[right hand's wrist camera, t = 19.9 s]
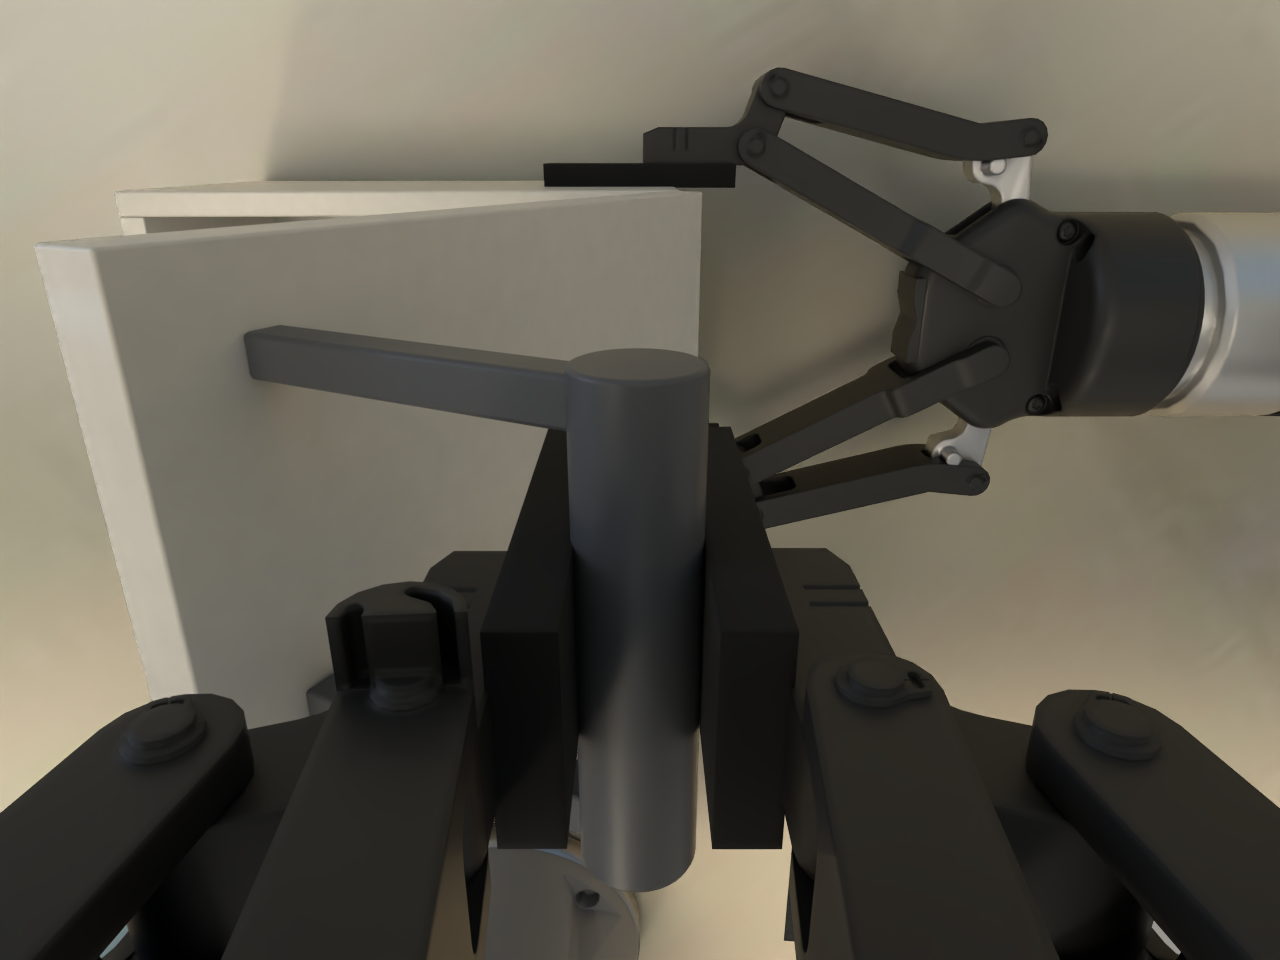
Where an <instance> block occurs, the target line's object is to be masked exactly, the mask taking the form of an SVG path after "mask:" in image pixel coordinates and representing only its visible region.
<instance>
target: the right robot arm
mask: <svg viewBox="0 0 1280 960" xmlns="http://www.w3.org/2000/svg"><path fill="white" fill-rule="evenodd" d="M325 621H326V627H327V634H328V640H329V646H330V653H331V659H332V665H333V671H334V678H335V684H336V690H337V692H336V694H335V696H334V699H333V701H332V703H331V706H330V708H329V710H327V711H324V712H322V713H319V714H316V715H312V716H308V717H305V718H301V719H297V720H292V721H288V722H283V723H278V724H273V725H268V726H263V727H258V728H253V729H247V724H246V719H245V714H244V710H243V709H242V708H241V707H240V706H239V705H238V704H237V703H236V702H235V701H234V700H233V699H230V698H226V697H223V696H219V695H215V694H212V693H210V694H183V695H176V696H171V697H169V698H167V697H165V698H162V699H158V700H154V701H152V702H150V703H148V704H146V705H143V706H141V707H138V708H136V709H134V710H131V711H129V712H126V713H124V714H123V715H121V716H120V717H118V718H117V719H115V720H114V721H112V722H111V723H109V724H108V725H106V726H105V727H103V728H102V729H100V730H99V731H98V732H96V733H95V734H94V735H93V736H92V737H90V738H89V739H88V740H87V741H86V742H84V743H83V744H82V745H81V746H80V747H78V748H77V749H76V750H75V751H74V752H73V753H71V754H70V755H69V756H68V757H67V758H65V759H64V760H63V761H62V762H61V763H59V764H58V765H57V766H56V767H55V768H53V769H52V770H51V771H50V772H49V773H48V774H46V775H45V776H44V777H43V778H42V779H40V780H39V781H38V782H37V783H36V784H34V785H33V786H32V787H31V788H30V789H29V790H27V791H26V792H25V793H24V794H23V795H21V796H20V797H19V798H18V799H17V800H15V801H14V802H13V803H12V804H11V805H9V806H8V807H7V808H6V809H5V810H4V811H2V812H1V813H0V960H484V953H485V943H486V933H487V924H488V914H489V905H490V895H491V877H490V865H489V853H488V845H489V841H490V836H491V831H492V827H493V822H494V818H495V826H496V838H497V849H567V844H568V835H569V825H570V815H571V806H572V796H573V787H574V777H575V768H576V758H577V748H578V739H579V718H578V687H577V657H576V627H575V596H574V566H573V545H572V543H571V541H570V516H569V487H568V459H567V432H565V431H559V430H553V429H548V431H547V434H546V437H545V440H544V443H543V446H542V448H541V451H540V454H539V457H538V460H537V463H536V466H535V469H534V472H533V475H532V478H531V481H530V484H529V487H528V490H527V493H526V496H525V499H524V502H523V505H522V508H521V511H520V514H519V517H518V520H517V523H516V526H515V529H514V532H513V535H512V538H511V541H510V544H509V547H508V550H507V551H453V552H452V553H450V554H449V555H447V556H446V557H445V558H443V559H442V560H441V561H439V562H438V563H437V564H435V565H434V566H432V567H431V568H430V569H429V571H428V573H427V575H426V577H425V579H424V581H423V582H414V581H407V582H399V583H391V584H383V585H380V586H377V587H373V588H370V589H367V590H364V591H360V592H357V593H356V594H354V595H352V596H350V597H349V598H347V599H345V600H343V601H341V602H340V603H338V604H337V605H336V606H335V607H334V608H333V609H332V610H331V611H330V612H329V614H328V615H327V616H326V617H325ZM699 726H700V735H701V745H702V755H703V764H704V774H705V783H706V793H707V803H708V812H709V822H710V832H711V841H712V849H782V842H783V829H784V817H786V821H787V826H788V830H789V835H790V840H791V844H792V853H791V865H790V877H789V888H788V900H787V911H786V923H785V934H784V941H794V942H795V951H796V960H1280V808H1279V807H1278V806H1276V805H1275V804H1274V803H1273V802H1272V801H1270V800H1269V799H1268V798H1267V797H1266V796H1264V795H1263V794H1262V793H1261V792H1260V791H1258V790H1257V789H1256V788H1255V787H1254V786H1252V785H1251V784H1250V783H1249V782H1248V781H1246V780H1245V779H1244V778H1243V777H1242V776H1240V775H1239V774H1238V773H1237V772H1236V771H1234V770H1233V769H1232V768H1231V767H1230V766H1228V765H1227V764H1226V763H1225V762H1224V761H1222V760H1221V759H1220V758H1219V757H1218V756H1216V755H1215V754H1214V753H1213V752H1212V751H1210V750H1209V749H1208V748H1207V747H1206V746H1204V745H1203V744H1202V743H1201V742H1200V741H1198V740H1197V739H1196V738H1195V737H1194V736H1192V735H1191V734H1190V733H1189V732H1188V731H1186V730H1185V729H1184V728H1183V727H1182V726H1180V725H1179V724H1177V723H1176V722H1174V721H1173V720H1171V719H1170V718H1168V717H1167V716H1165V715H1163V714H1162V713H1160V712H1159V711H1157V710H1156V709H1154V708H1151V707H1149V706H1146V705H1144V704H1142V703H1139V702H1137V701H1134V700H1132V699H1131V698H1128V697H1126V696H1122V695H1118V694H1115V693H1113V694H1110V693H1109V692H1104V691H1097V690H1065V691H1062V692H1058V693H1054V694H1050V695H1048V696H1047V697H1045V698H1044V699H1043V700H1042V701H1041V702H1040V703H1039V704H1038V705H1037V706H1036V710H1035V715H1034V720H1033V725H1032V726H1030V725H1025V724H1020V723H1015V722H1010V721H1005V720H1000V719H995V718H990V717H985V716H981V715H977V714H973V713H970V712H966V711H962V710H959V709H957V708H955V707H952V706H950V704H949V702H948V700H947V697H946V695H945V693H944V690H943V689H942V688H941V686H940V685H939V684H938V683H937V681H936V680H935V679H934V677H933V676H932V675H931V674H929V673H928V672H926V671H925V670H923V669H922V668H920V667H919V666H917V665H916V664H914V663H913V662H910V661H908V660H905V659H902V658H899V657H897V656H896V655H895V653H894V651H893V649H892V647H891V645H890V643H889V641H888V639H887V637H886V636H885V634H884V632H883V630H882V628H881V626H880V624H879V622H878V620H877V618H876V616H875V614H874V612H873V610H872V608H871V606H868V600H867V598H866V596H865V595H864V593H863V591H862V589H860V585H859V583H858V581H857V579H856V577H855V575H854V573H853V571H852V569H851V567H850V565H848V564H847V563H846V562H844V561H843V560H841V559H840V558H839V557H837V556H836V555H835V554H833V553H832V552H830V551H829V550H828V549H826V548H771V546H770V543H769V540H768V537H767V534H766V531H765V528H764V525H763V522H762V519H761V516H760V513H759V510H758V507H757V504H756V501H755V498H754V495H753V492H752V489H751V486H750V483H749V480H748V477H747V474H746V471H745V468H744V465H743V462H742V459H741V456H740V453H739V450H738V447H737V444H736V441H735V438H734V435H733V432H732V429H731V427H708V459H707V491H706V524H705V556H704V589H703V621H702V654H701V686H700V718H699ZM1153 921H1155V922H1156V923H1157V924H1158V926H1159V927H1160V928H1161V929H1162V930H1163V931H1164V933H1165V934H1166V935H1167V936H1168V937H1169V938H1170V940H1171V941H1172V942H1173V943H1174V944H1175V945H1176V947H1177V948H1178V949H1179V950H1180V951H1181V953H1180V954H1179V955H1178V954H1176V953H1175V952H1174V951H1173V950H1172V949H1171V948H1170V947H1169V946H1167V945H1166V944H1165V943H1164V941H1163V940H1162V939H1161V938H1160V937H1159V936H1158V934H1157V933H1156V932H1155V931H1154V930H1153V928H1152V924H1153ZM126 925H127V927H128V930H129V931H128V932H127V933H126V934H125V936H124V937H123V938H122V939H121V940H120V942H119V943H118V944H117V945H116V946H115V947H114V948H113V949H112V950H111V951H109V952H108V953H107V954H106V955H105V956H104V957H102V958H101V957H100V955H101V954H102V953H103V952H104V950H105V949H106V948H107V947H108V946H109V945H110V943H111V942H112V941H113V940H114V939H115V938H116V936H117V935H118V934H119V933H120V932H121V930H122V929H123V928H124V927H125V926H126Z"/></svg>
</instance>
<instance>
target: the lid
mask: <svg viewBox="0 0 1280 960" xmlns="http://www.w3.org/2000/svg"><path fill="white" fill-rule="evenodd" d="M701 218H702V192H698V191H659V192H647V193H635V194H623V195H611V196H599V197H586V198H574V199H562V200H550V201H538V202H526V203H514V204H501V205H489V206H477V207H465V208H453V209H441V210H428V211H416V212H404V213H392V214H380V215H368V216H355V217H343V218H331V219H319V220H307V221H295V222H283V223H270V224H258V225H246V226H234V227H222V228H210V229H197V230H185V231H173V232H161V233H149V234H137V235H125V236H112V237H100V238H88V239H76V240H64V241H52V242H39V243H38V244H36V245H35V252H36V256H37V260H38V264H39V268H40V271H41V275H42V279H43V283H44V287H45V291H46V295H47V298H48V302H49V306H50V310H51V314H52V318H53V322H54V326H55V329H56V333H57V337H58V341H59V345H60V349H61V353H62V356H63V360H64V364H65V368H66V372H67V376H68V380H69V383H70V387H71V391H72V395H73V399H74V403H75V407H76V411H77V414H78V418H79V422H80V426H81V430H82V434H83V438H84V441H85V445H86V449H87V453H88V457H89V461H90V465H91V469H92V472H93V476H94V480H95V484H96V488H97V492H98V496H99V499H100V503H101V507H102V511H103V515H104V519H105V523H106V526H107V530H108V534H109V538H110V542H111V546H112V550H113V554H114V557H115V561H116V565H117V569H118V573H119V577H120V581H121V584H122V588H123V592H124V596H125V600H126V604H127V608H128V611H129V615H130V619H131V623H132V627H133V631H134V635H135V639H136V642H137V646H138V650H139V654H140V658H141V662H142V666H143V669H144V673H145V677H146V681H147V685H148V689H149V693H150V696H151V700H152V701H154V700H158V699H162V698H165V697H167V698H169V697H171V696H176V695H183V694H210V693H212V694H215V695H219V696H223V697H226V698H230V699H233V700H234V701H235V702H236V703H237V704H238V705H239V706H240V707H241V708H242V709H243V710H244V714H245V719H246V724H247V729H253V728H258V727H263V726H268V725H273V724H278V723H283V722H288V721H292V720H297V719H301V718H305V717H308V716H312V715H316V714H319V713H322V712H324V711H327V710H329V708H330V706H331V703H332V701H333V699H334V696H335V694H336V692H337V690H336V684H335V678H334V671H333V665H332V659H331V653H330V646H329V640H328V634H327V627H326V621H325V617H326V616H327V615H328V614H329V612H330V611H331V610H332V609H333V608H334V607H335V606H336V605H337V604H338V603H340V602H341V601H343V600H345V599H347V598H349V597H350V596H352V595H354V594H356V593H357V592H360V591H364V590H367V589H370V588H373V587H377V586H380V585H383V584H391V583H399V582H407V581H414V582H423V581H424V579H425V577H426V575H427V573H428V571H429V569H430V568H431V567H432V566H434V565H435V564H437V563H438V562H439V561H441V560H442V559H443V558H445V557H446V556H447V555H449V554H450V553H452V552H453V551H507V550H508V547H509V544H510V541H511V538H512V535H513V532H514V529H515V526H516V523H517V520H518V517H519V514H520V511H521V508H522V505H523V502H524V499H525V496H526V493H527V490H528V487H529V484H530V481H531V478H532V475H533V472H534V469H535V466H536V463H537V460H538V457H539V454H540V451H541V448H542V446H543V443H544V440H545V437H546V434H547V431H548V429H553V430H559V431H565V432H567V459H568V487H569V516H570V541H571V543H572V545H573V566H574V596H575V627H576V657H577V687H578V718H579V739H578V760H576V768H575V777H574V787H573V796H572V806H571V815H570V825H569V831H572V832H574V833H577V834H579V835H581V852H582V857H583V859H584V862H585V864H586V865H587V867H588V869H589V870H590V871H591V873H592V874H593V875H594V876H595V877H596V878H597V879H599V880H600V881H601V882H603V883H604V884H606V885H608V886H610V887H613V888H616V889H618V890H623V891H628V892H649V891H654V890H658V889H661V888H664V887H666V886H668V885H670V884H672V883H673V882H675V881H676V880H678V879H679V878H680V877H681V876H682V875H683V874H684V873H685V872H686V870H687V869H688V868H689V866H690V865H691V862H692V860H693V858H694V854H695V848H696V816H697V784H698V751H699V718H700V686H701V654H702V621H703V589H704V556H705V524H706V491H707V459H708V426H709V393H710V367H709V365H708V363H707V362H706V361H705V360H703V359H701V358H699V357H698V337H699V297H700V258H701Z"/></svg>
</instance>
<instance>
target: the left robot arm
mask: <svg viewBox="0 0 1280 960" xmlns="http://www.w3.org/2000/svg"><path fill="white" fill-rule="evenodd" d="M784 117H788V118H791V119H795V120H799V121H802V122H806V123H809V124H813V125H817V126H820V127H824V128H827V129H831V130H834V131H838V132H842V133H845V134H849V135H852V136H856V137H860V138H863V139H867V140H870V141H874V142H878V143H881V144H885V145H888V146H892V147H896V148H899V149H903V150H906V151H910V152H913V153H917V154H921V155H924V156H928V157H932V158H937V159H941V160H953V161H963V172H964V175H965V177H966V178H967V179H968V180H969V181H971V182H973V183H978V184H982V185H984V186H986V187H987V188H988V190H989V191H990V194H991V202H989V203H988V204H986V205H985V206H983V207H982V208H980V209H979V210H977V211H976V212H974V213H973V214H972V215H970V216H969V217H967V218H966V219H964V220H963V221H961V222H960V223H958V224H957V225H955V226H954V227H953V228H951V229H950V230H948V231H947V232H945V233H943V232H941V231H940V230H938V229H936V228H934V227H933V226H931V225H929V224H927V223H925V222H923V221H920V220H918V219H916V218H915V217H913V216H911V215H910V214H908V213H906V212H904V211H903V210H901V209H899V208H898V207H896V206H894V205H893V204H891V203H889V202H888V201H886V200H884V199H882V198H881V197H879V196H877V195H876V194H874V193H872V192H871V191H869V190H867V189H865V188H864V187H862V186H860V185H859V184H857V183H855V182H854V181H852V180H850V179H849V178H847V177H845V176H843V175H842V174H840V173H838V172H837V171H835V170H833V169H832V168H830V167H828V166H826V165H825V164H823V163H821V162H820V161H818V160H816V159H815V158H813V157H811V156H809V155H808V154H806V153H804V152H803V151H801V150H799V149H798V148H796V147H794V146H793V145H791V144H789V143H787V142H786V141H784V140H782V139H781V138H779V137H777V135H778V133H779V130H780V128H781V125H782V122H783V120H784ZM1047 137H1048V131H1047V127H1046V126H1045V124H1044V122H1042V121H1041V120H1039V119H1036V118H1026V119H1016V120H1005V121H996V122H987V123H976V122H973V121H969V120H966V119H962V118H959V117H955V116H952V115H948V114H945V113H941V112H938V111H934V110H931V109H927V108H924V107H920V106H917V105H913V104H910V103H906V102H903V101H899V100H896V99H892V98H888V97H885V96H881V95H878V94H874V93H871V92H867V91H864V90H860V89H857V88H853V87H850V86H846V85H843V84H839V83H836V82H832V81H829V80H825V79H822V78H818V77H815V76H811V75H808V74H804V73H800V72H797V71H793V70H790V69H786V68H775V69H772V70H770V71H769V72H767V73H765V74H764V75H762V76H761V77H760V78H759V79H758V80H756V81H755V83H754V85H753V88H752V94H751V96H750V99H749V101H748V104H747V107H746V109H745V112H744V114H743V116H742V118H741V119H740V120H739V122H738V123H736V124H735V125H734V126H731V127H658V128H655V129H653V130H651V131H648V132H646V133H644V134H643V163H546V164H543V166H544V187H675V188H735V177H736V165H744V166H745V167H747V168H749V169H751V170H752V171H754V172H756V173H758V174H759V175H761V176H763V177H764V178H766V179H768V180H770V181H771V182H773V183H775V184H777V185H778V186H780V187H782V188H783V189H785V190H787V191H789V192H790V193H792V194H794V195H796V196H797V197H799V198H801V199H803V200H804V201H806V202H808V203H809V204H811V205H813V206H815V207H816V208H818V209H820V210H822V211H823V212H825V213H827V214H828V215H830V216H832V217H834V218H835V219H837V220H839V221H841V222H842V223H844V224H846V225H848V226H849V227H851V228H853V229H854V230H856V231H858V232H860V233H861V234H863V235H865V236H867V237H868V238H870V239H872V240H873V241H875V242H877V243H879V244H880V245H881V246H883V247H884V248H886V249H888V250H890V251H891V252H893V253H895V254H896V255H898V256H900V257H902V258H903V259H905V260H907V261H909V263H908V265H907V267H906V269H905V271H900V273H899V282H898V291H897V292H898V298H899V305H900V315H899V317H898V320H897V323H896V325H895V328H894V331H893V336H892V344H891V352H892V353H894V354H895V356H893V357H891V358H889V359H887V360H885V361H883V362H881V363H879V364H877V365H875V366H873V367H872V368H871V369H869V371H868V372H867V373H866V374H865V375H864V376H862V377H860V378H858V379H856V380H854V381H852V382H850V383H848V384H846V385H844V386H841V387H839V388H837V389H835V390H833V391H831V392H829V393H827V394H825V395H823V396H821V397H819V398H817V399H815V400H813V401H811V402H809V403H807V404H805V405H803V406H801V407H799V408H797V409H794V410H792V411H790V412H788V413H786V414H784V415H782V416H780V417H778V418H776V419H774V420H772V421H770V422H768V423H766V424H764V425H762V426H760V427H758V428H756V429H754V430H752V431H750V432H748V433H745V434H743V435H741V436H739V437H737V438H735V441H736V444H737V447H738V450H739V453H740V456H741V459H742V462H743V465H744V468H745V471H746V474H747V477H748V480H749V483H750V486H751V489H752V492H753V495H754V498H755V501H756V504H757V507H758V510H759V513H760V516H761V519H762V522H763V525H764V528H765V529H766V528H770V527H775V526H779V525H783V524H788V523H792V522H797V521H801V520H806V519H810V518H815V517H819V516H823V515H828V514H832V513H837V512H841V511H846V510H850V509H855V508H859V507H864V506H868V505H872V504H877V503H881V502H886V501H890V500H895V499H899V498H904V497H908V496H912V495H917V494H921V493H926V492H937V493H947V494H958V495H968V496H974V495H978V494H981V493H983V492H984V491H985V490H986V489H987V487H988V485H989V483H990V476H989V474H988V472H987V471H986V470H985V469H983V468H982V461H983V458H984V454H985V450H986V447H987V443H988V439H989V436H990V432H991V428H994V427H997V426H1000V425H1002V424H1004V423H1006V422H1008V421H1010V420H1012V419H1015V418H1018V417H1023V416H1136V415H1140V414H1143V413H1147V414H1149V415H1152V416H1160V417H1189V416H1246V415H1262V416H1280V213H1255V212H1187V213H1176V214H1173V215H1171V216H1167V215H1164V214H1161V213H1157V212H1051V211H1048V210H1046V209H1044V208H1042V207H1041V206H1039V205H1038V204H1037V203H1035V202H1033V201H1031V200H1029V198H1030V183H1031V167H1032V155H1035V154H1037V153H1038V152H1039V151H1041V150H1042V148H1043V147H1044V145H1045V144H1046V141H1047ZM938 402H940V403H942V404H943V405H944V406H945V407H947V408H948V409H949V410H951V411H952V412H953V413H954V414H956V415H957V416H958V417H959V419H958V422H957V424H956V425H955V426H954V427H953V428H952V429H950V430H948V431H945V432H939V433H936V434H932V435H930V436H929V437H928V439H927V442H926V444H908V445H901V446H895V447H891V448H887V449H882V450H878V451H874V452H869V453H865V454H861V455H856V456H852V457H847V458H843V459H839V460H834V461H830V462H826V463H821V464H817V465H813V466H808V467H804V468H800V469H795V470H791V471H787V472H782V473H779V472H781V471H783V470H785V469H787V468H789V467H791V466H794V465H796V464H798V463H800V462H802V461H804V460H806V459H808V458H810V457H812V456H815V455H817V454H819V453H821V452H823V451H825V450H827V449H829V448H831V447H833V446H835V445H838V444H840V443H842V442H844V441H846V440H848V439H850V438H852V437H854V436H856V435H858V434H861V433H863V432H865V431H867V430H869V429H871V428H873V427H875V426H877V425H879V424H882V423H884V422H886V421H888V420H890V419H892V418H903V417H907V416H910V415H913V414H915V413H917V412H919V411H921V410H923V409H925V408H927V407H929V406H931V405H934V404H936V403H938ZM708 427H719V424H718V423H709V426H708ZM777 473H778V474H777ZM488 853H489V865H490V877H491V895H490V905H489V914H488V924H487V933H486V943H485V953H484V960H638V956H639V947H640V921H639V911H638V906H637V902H636V899H635V896H634V893H633V892H628V891H623V890H618V889H616V888H613V887H610V886H608V885H606V884H604V883H603V882H601V881H600V880H599V879H597V878H596V877H595V876H594V875H593V874H592V873H591V871H590V870H589V869H588V867H587V865H586V864H585V862H584V859H583V857H582V852H581V842H580V841H578V840H576V839H574V838H572V837H569V836H568V844H567V849H497V838H496V826H493V827H492V831H491V836H490V841H489V845H488ZM128 931H129V930H128V927H127V925H126V926H125V927H124V928H123V929H122V930H121V932H120V933H119V934H118V935H117V936H116V938H115V939H114V940H113V941H112V942H111V943H110V945H109V946H108V947H107V948H106V949H105V950H104V952H103V953H102V954H101V955H100V957H101V958H102V957H104V956H105V955H106V954H107V953H108V952H109V951H111V950H112V949H113V948H114V947H115V946H116V945H117V944H118V943H119V942H120V940H121V939H122V938H123V937H124V936H125V934H126V933H127V932H128Z"/></svg>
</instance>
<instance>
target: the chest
mask: <svg viewBox="0 0 1280 960" xmlns="http://www.w3.org/2000/svg"><path fill="white" fill-rule="evenodd" d="M659 191H681V190H679V189H677V188H675V187H544V181H253V182H239V183H225V184H211V185H197V186H183V187H169V188H155V189H141V190H127V191H116V192H115V198H116V203H117V207H118V212H119V215H120V216H121V218H120V223H121V228H122V232H123V236H125V235H137V234H149V233H161V232H173V231H185V230H197V229H210V228H222V227H234V226H246V225H258V224H270V223H283V222H295V221H307V220H319V219H331V218H343V217H355V216H368V215H380V214H392V213H404V212H416V211H428V210H441V209H453V208H465V207H477V206H489V205H501V204H514V203H526V202H538V201H550V200H562V199H574V198H586V197H599V196H611V195H623V194H635V193H647V192H659Z"/></svg>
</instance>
